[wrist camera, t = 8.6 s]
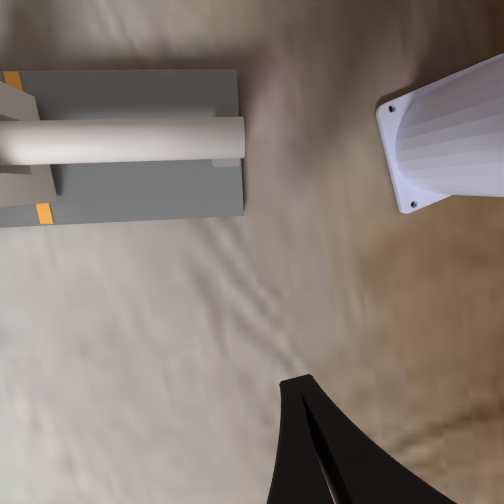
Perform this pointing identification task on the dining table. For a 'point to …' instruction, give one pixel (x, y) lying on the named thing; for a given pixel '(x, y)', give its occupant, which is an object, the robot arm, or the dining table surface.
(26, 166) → the collar
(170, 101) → the pipe stand
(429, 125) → the robot arm
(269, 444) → the dining table surface
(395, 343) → the dining table surface
